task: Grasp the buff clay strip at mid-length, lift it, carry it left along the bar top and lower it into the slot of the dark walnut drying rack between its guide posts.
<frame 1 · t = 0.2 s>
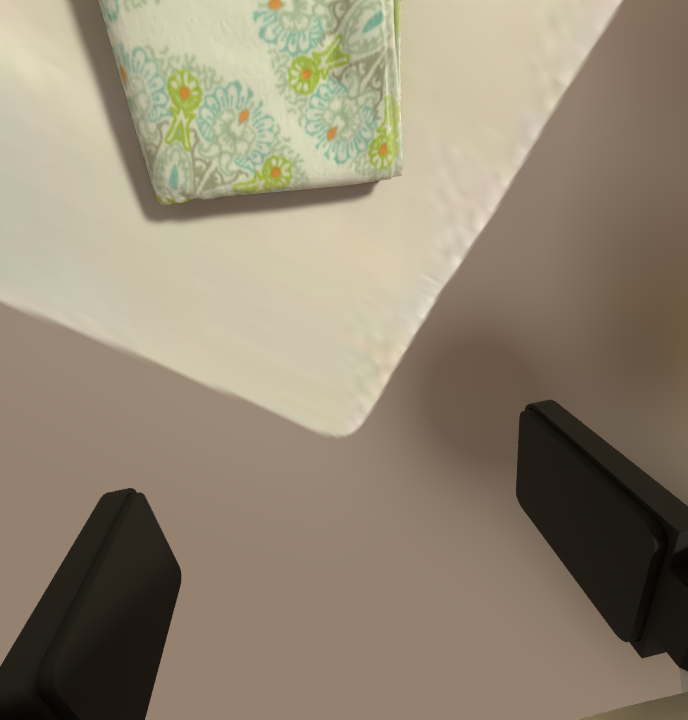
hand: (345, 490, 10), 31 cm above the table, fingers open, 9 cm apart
towel: (267, 72, 32), on the table
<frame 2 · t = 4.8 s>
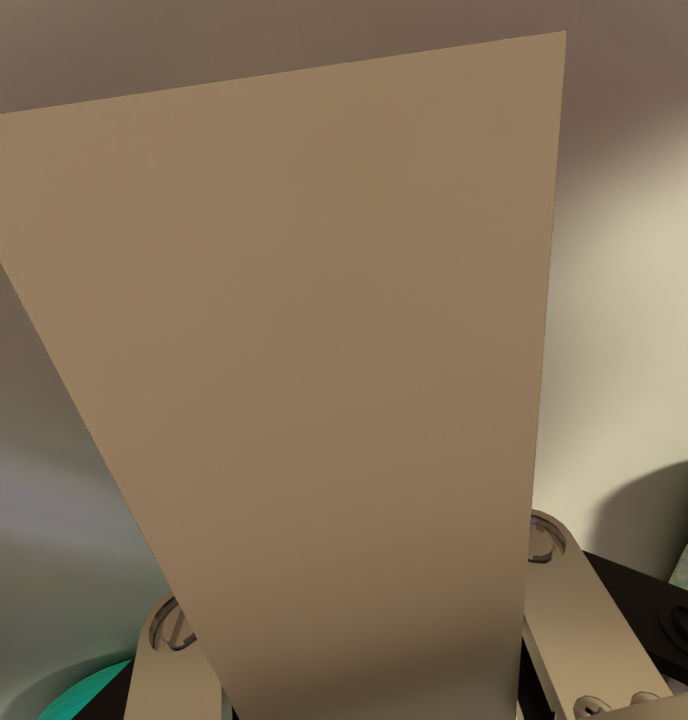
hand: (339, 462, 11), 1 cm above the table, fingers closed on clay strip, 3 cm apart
donuts: (177, 705, 16), on the table
clay strip: (334, 437, 12), on the table, touching gripper
when the fingers open (5 cm above the table, at t = 9.7 s): clay strip drops 1 cm, resting on rack.
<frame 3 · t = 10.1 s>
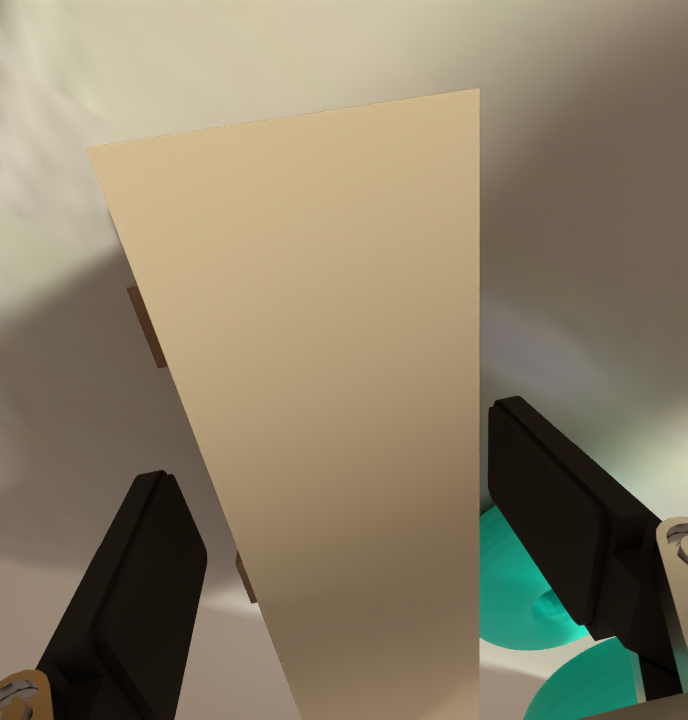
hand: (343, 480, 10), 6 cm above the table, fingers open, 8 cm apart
rack: (322, 374, 16), on the table
donuts: (522, 543, 22), on the table
clay strip: (333, 413, 13), point 3 cm above the table, touching rack
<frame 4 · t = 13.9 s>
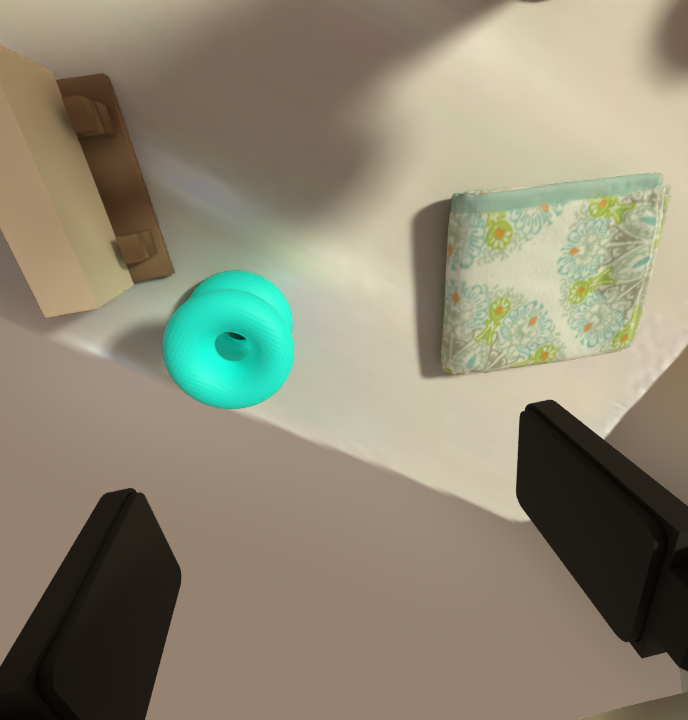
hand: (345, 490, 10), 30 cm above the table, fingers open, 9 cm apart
rack: (90, 193, 32), on the table
donuts: (241, 318, 39), on the table
towel: (532, 274, 41), on the table
clay strip: (74, 193, 30), point 3 cm above the table, touching rack
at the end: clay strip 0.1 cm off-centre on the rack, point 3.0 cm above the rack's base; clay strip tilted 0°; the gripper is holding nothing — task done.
